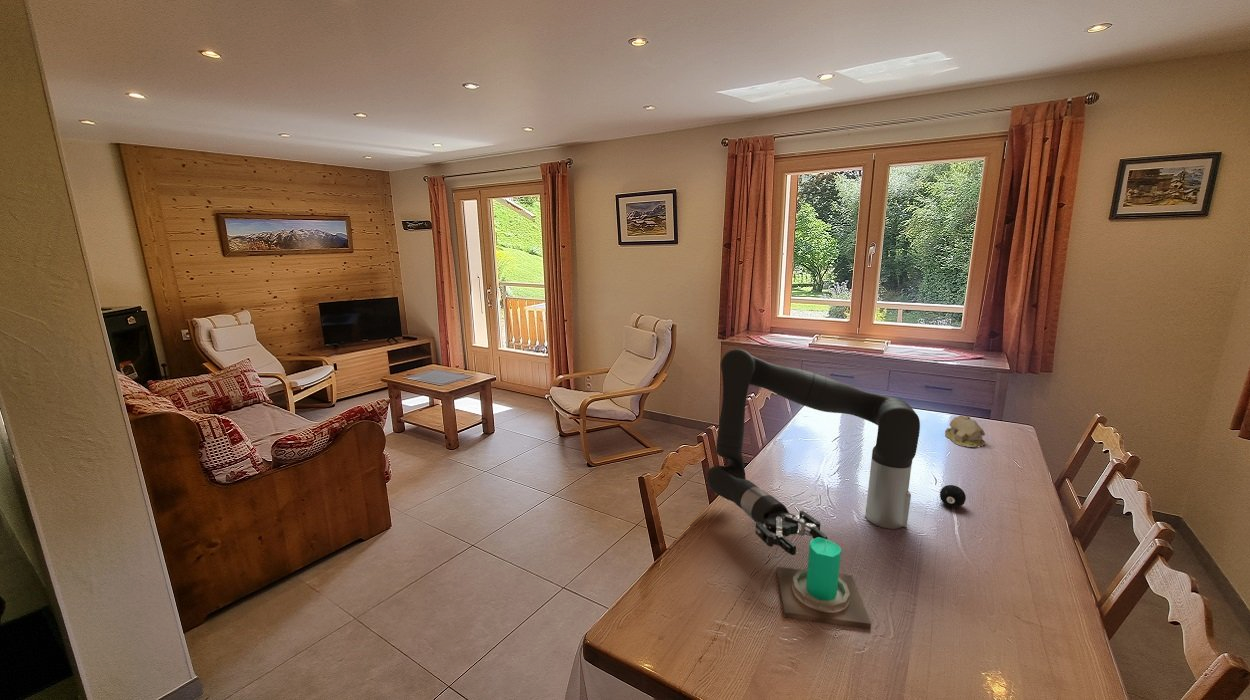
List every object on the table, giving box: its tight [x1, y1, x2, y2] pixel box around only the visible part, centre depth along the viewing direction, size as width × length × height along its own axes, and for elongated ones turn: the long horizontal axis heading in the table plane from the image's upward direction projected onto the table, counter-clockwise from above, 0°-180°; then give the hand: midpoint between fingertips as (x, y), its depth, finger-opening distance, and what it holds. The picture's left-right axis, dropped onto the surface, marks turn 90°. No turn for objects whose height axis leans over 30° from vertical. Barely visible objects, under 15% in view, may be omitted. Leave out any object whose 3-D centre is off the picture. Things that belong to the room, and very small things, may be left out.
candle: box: [806, 537, 842, 601], centre depth 99 cm, size 6×6×12 cm
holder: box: [775, 566, 872, 630], centre depth 100 cm, size 16×14×3 cm
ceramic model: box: [944, 415, 986, 448], centre depth 179 cm, size 14×11×10 cm
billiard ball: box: [939, 484, 967, 508], centre depth 135 cm, size 6×6×6 cm
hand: (810, 546), depth 102 cm, fingers open, 8 cm apart
